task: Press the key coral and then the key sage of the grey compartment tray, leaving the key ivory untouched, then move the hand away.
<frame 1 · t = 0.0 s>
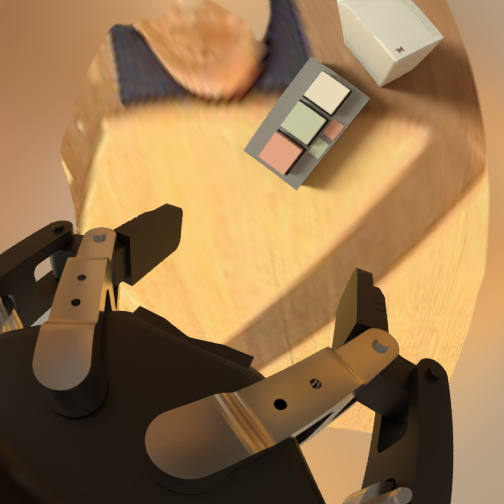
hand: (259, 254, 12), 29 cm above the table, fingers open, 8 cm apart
key sage: (303, 122, 31), point 4 cm above the table, slide at 0.0 cm
key ivory: (327, 93, 29), point 4 cm above the table, slide at 0.0 cm
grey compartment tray: (308, 123, 35), on the table
key coral: (281, 152, 34), point 4 cm above the table, slide at 0.0 cm
skincare box: (377, 55, 27), on the table
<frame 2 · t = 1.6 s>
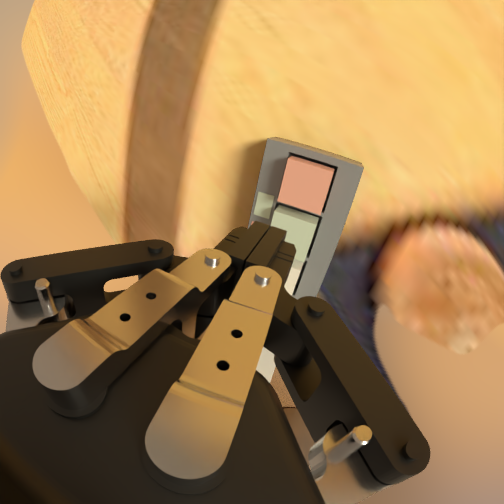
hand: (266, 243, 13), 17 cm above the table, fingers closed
key sage: (291, 233, 26), point 4 cm above the table, slide at 0.0 cm
key ivory: (278, 275, 29), point 4 cm above the table, slide at 0.0 cm
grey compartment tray: (298, 219, 30), on the table
key coral: (306, 184, 24), point 4 cm above the table, slide at 0.0 cm
skincare box: (257, 312, 38), on the table
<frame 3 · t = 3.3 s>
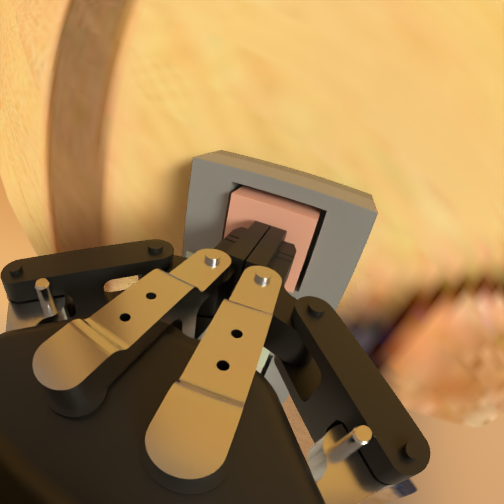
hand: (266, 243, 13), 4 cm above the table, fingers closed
key sage: (243, 321, 15), point 4 cm above the table, slide at 0.0 cm
key ivory: (230, 370, 18), point 4 cm above the table, slide at 0.0 cm
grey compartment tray: (263, 284, 19), on the table
key coral: (269, 237, 14), point 3 cm above the table, slide at 1.1 cm, touching gripper
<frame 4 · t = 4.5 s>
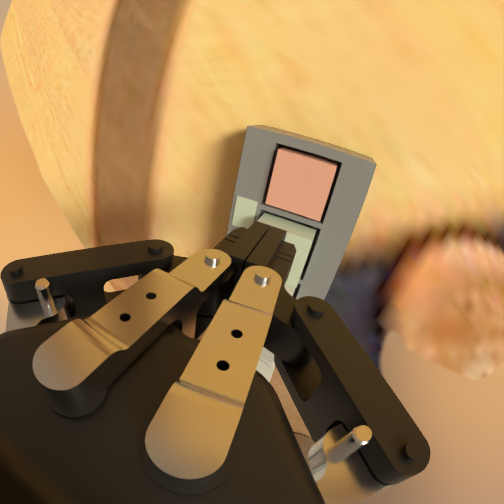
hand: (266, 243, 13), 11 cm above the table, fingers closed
key sage: (280, 250, 20), point 4 cm above the table, slide at 0.0 cm
key ivory: (264, 300, 23), point 4 cm above the table, slide at 0.0 cm
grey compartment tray: (291, 230, 24), on the table
key coral: (302, 182, 19), point 3 cm above the table, slide at 1.3 cm
skincare box: (243, 335, 32), on the table
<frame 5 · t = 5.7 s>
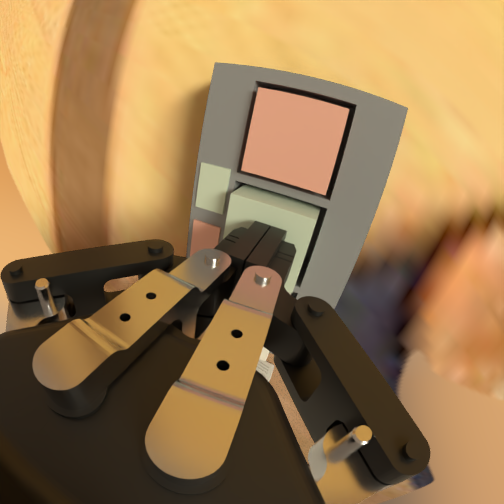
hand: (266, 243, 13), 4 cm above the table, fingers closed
key sage: (268, 237, 14), point 3 cm above the table, slide at 0.6 cm, touching gripper
key ivory: (245, 316, 16), point 4 cm above the table, slide at 0.0 cm
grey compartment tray: (283, 215, 17), on the table
key coral: (296, 138, 12), point 3 cm above the table, slide at 1.3 cm
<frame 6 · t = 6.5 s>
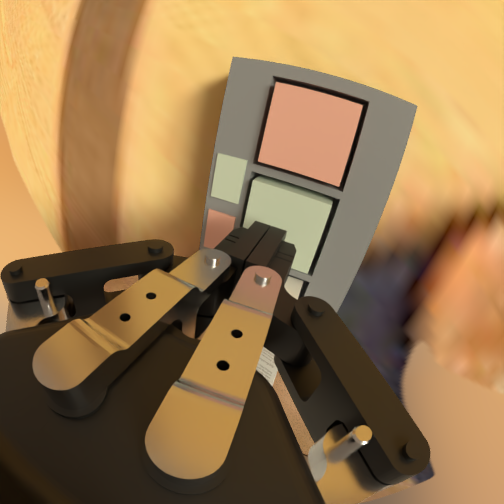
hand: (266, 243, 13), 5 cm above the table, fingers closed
key sage: (286, 221, 15), point 3 cm above the table, slide at 1.3 cm
key ivory: (258, 304, 16), point 4 cm above the table, slide at 0.0 cm
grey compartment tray: (295, 207, 17), on the table
key coral: (311, 132, 12), point 3 cm above the table, slide at 1.3 cm
skincare box: (233, 346, 25), on the table
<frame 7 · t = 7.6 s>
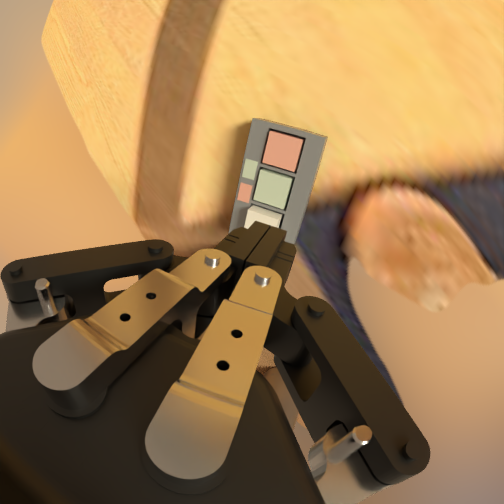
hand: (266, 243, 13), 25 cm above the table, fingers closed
key sage: (274, 187, 34), point 3 cm above the table, slide at 1.3 cm
key ivory: (261, 226, 36), point 4 cm above the table, slide at 0.0 cm
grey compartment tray: (278, 183, 37), on the table
key coral: (283, 150, 32), point 3 cm above the table, slide at 1.3 cm
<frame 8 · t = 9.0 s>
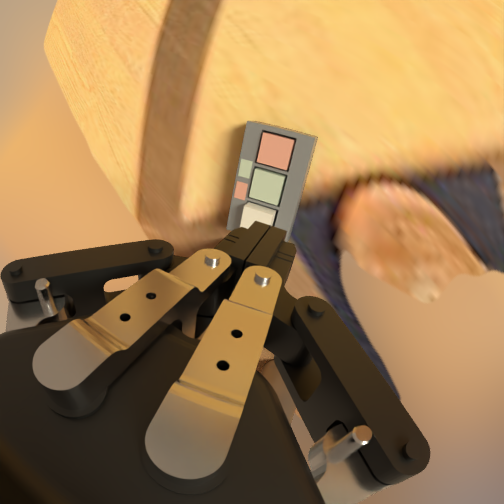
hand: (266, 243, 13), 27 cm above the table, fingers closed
key sage: (268, 185, 37), point 3 cm above the table, slide at 1.3 cm
key ivory: (257, 221, 38), point 4 cm above the table, slide at 0.0 cm
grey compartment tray: (273, 181, 39), on the table
key coral: (276, 150, 34), point 3 cm above the table, slide at 1.3 cm
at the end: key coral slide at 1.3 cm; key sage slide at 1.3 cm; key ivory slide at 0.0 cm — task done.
